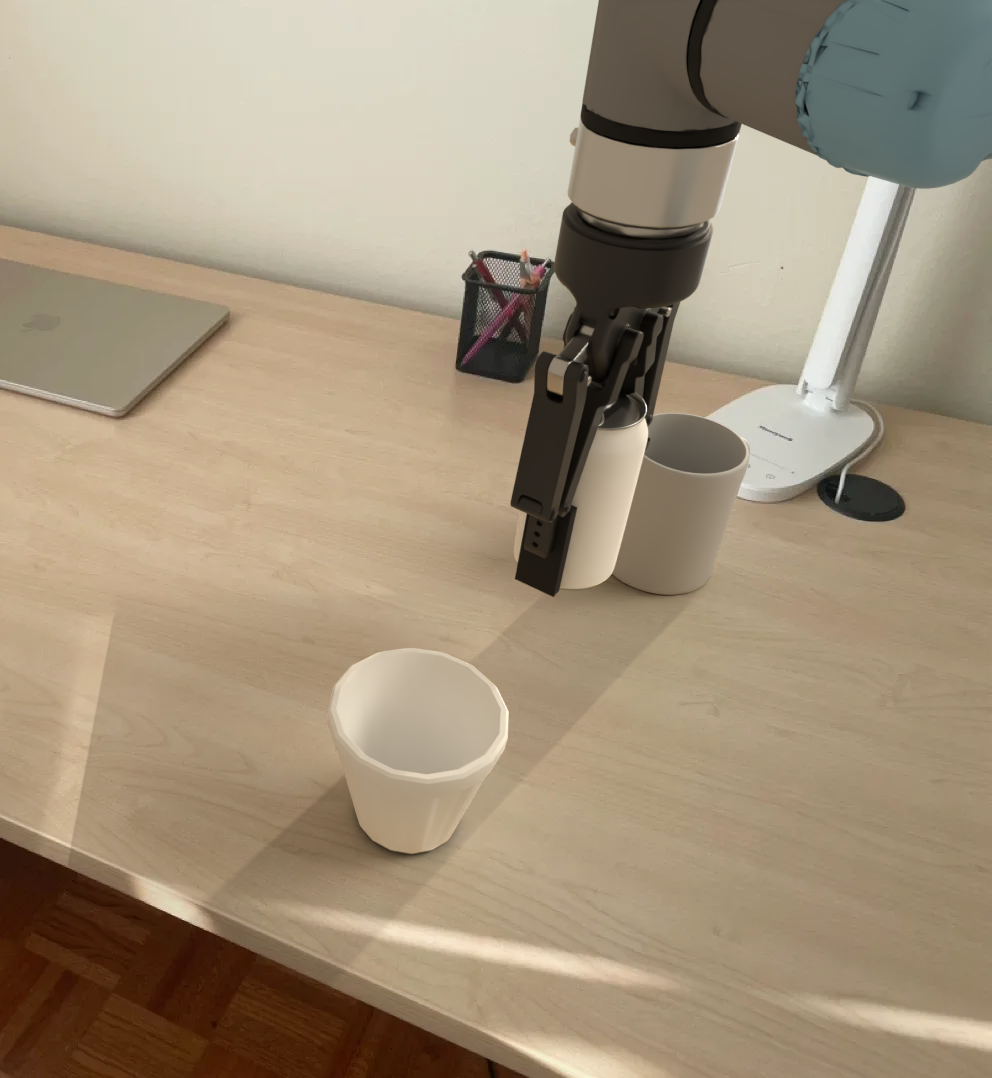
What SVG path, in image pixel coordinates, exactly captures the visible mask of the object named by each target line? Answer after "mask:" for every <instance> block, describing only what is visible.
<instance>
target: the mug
mask: <svg viewBox="0 0 992 1078" xmlns="http://www.w3.org/2000/svg"><path fill="white" fill-rule="evenodd" d="M648 437H649V438H651V439H650V443H649V445H648V448H647V449H646V451H645V452H644V456H643V460H642V464H641V468H640V472H639V476H638V480H637V484H636V488H635V492H634V495H633V499H632V503H631V507H630V511H629V515H628V519H627V522H626V526H625V530H624V534H623V538H622V541H621V545H620V549H619V553H618V556H617V560H616V564H615V567H614V570H613V572H612V574H611V576H613V577H615V578H616V579H617V580H618V581H620V582H621V583H623V584H625V585H627V586H629V587H632V588H634V589H637V590H639V591H641V592H645V593H650V594H656V595H664V596H674V595H675V596H676V595H683V594H689V593H691V592H694V591H696V590H698V589H699V588H701V587H703V586H704V585H706V583H707V582H708V581H709V579H710V578H711V576H712V574H713V572H714V569H715V566H716V563H717V558H718V556H719V553H720V549H721V546H722V542H723V540H724V538H725V537H724V536H725V533H726V531H727V528H728V524H729V521H730V519H731V515H732V512H733V510H734V507H735V503H736V500H737V497H738V494H739V491H740V488H741V485H742V483H743V481H744V477H745V475H746V472H747V469H748V466H749V461H750V456H751V446H750V444H749V442H748V440H747V439H746V438H744V437H743V436H741V435H739V434H738V433H737V432H736V431H734V430H733V429H731V428H729V427H728V426H726V425H725V424H722V423H721V422H718V421H716V420H713V419H711V418H708V417H704V416H700V415H697V414H696V415H695V414H691V413H682V412H661V413H655V414H653V420H652V422H651V424H650V425H649V426H648Z"/></svg>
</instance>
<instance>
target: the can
mask: <svg viewBox="0 0 992 1078" xmlns="http://www.w3.org/2000/svg"><path fill="white" fill-rule="evenodd" d="M590 384H592V385H595V386H598V387H601V388H605V387H603V386H602V385H601V384H600V383H596V382H593V381H591V383H590ZM646 414H647V406H646V403H645V401H644V400H643V399H642V398H641V396H639V395H638V394H637V393H636V392H635V393H632V394H630V395H624V394H622V393H620V392H619V395H618V398H617V400H616V401H615V402H614V403H613V404H609V405H607V406H606V407H605V408H604V411H603V414H602V417H601V420H600V423H599V426H598V427H597V431H596V434H595V437H594V440H593V443H592V446H591V448H590V451H589V454H588V457H587V460H586V463H585V466H584V469H583V472H582V475H581V477H580V480H579V483H578V486H577V489H576V492H575V495H574V498H573V501H572V503H571V505H573V506H575V507H577V512H576V516H575V521H574V525H573V530H572V534H571V539H570V544H569V548H568V553H567V557H566V562H565V566H564V571H563V575H562V580H561V585H560V589H559V590H561V591H570V592H571V591H584V590H587V589H592V588H593V587H596V586H597V585H600V584H602V583H604V582H605V581H606V580H608V579H609V578H610V577H611V576H612V572H613V570H614V567H615V564H616V560H617V556H618V553H619V549H620V545H621V541H622V538H623V534H624V530H625V526H626V522H627V519H628V515H629V511H630V507H631V503H632V499H633V495H634V492H635V488H636V484H637V480H638V476H639V472H640V468H641V464H642V460H643V456H644V452H645V448H646V444H647V439H648V427H647V423H646V420H645V416H646ZM526 515H527V513H525V512H522V511H520V510H519V513H518V517H517V525H516V529H515V530H516V531H515V537H514V542H513V556H514V559H515V561H516V563H517V564H518V559H519V553H520V548H521V542H522V537H523V532H524V526H525V521H526Z"/></svg>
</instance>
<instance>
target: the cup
mask: <svg viewBox="0 0 992 1078" xmlns="http://www.w3.org/2000/svg"><path fill="white" fill-rule="evenodd" d="M328 703H329V704H328V708H327V725H328V729H329V731H330V735H331V738H332V741H333V744H334V748H335V749H336V751H337V753H338V758H339V760H340V764H341V767H342V771H343V775H344V777H345V781H346V785H347V788H348V792H349V795H350V798H351V801H352V805H353V808H354V811H355V815H356V817H357V818H356V819H357V822H358V824H359V826H360V827H361V829H362V830H363V832H364V833H365V834H366V835H367V836H368V837H369V839H371V840H372V842H373V843H375V844H377V845H379V846H380V847H383V848H384V849H386V850H388V851H390V852H393V853H398V854H405V855H410V856H413V855H417V854H418V855H419V854H423V853H429V852H432V851H433V850H435V849H437V848H438V847H440V846H442V845H444V844H445V843H447V842H448V841H449V840H450V838H451V837H452V835H453V834H454V832H455V830H456V829H457V827H458V825H459V823H460V822H461V820H462V819H463V816H464V815H465V813H466V811H467V809H468V808H469V806H470V805H471V802H473V800H474V797H475V796H476V794H477V792H478V791H479V789H480V787H481V785H482V783H483V782H484V780H485V779H486V777H487V776H489V775H490V774H491V771H493V769H494V767H495V766H496V764H497V762H498V761H499V759H500V758H501V756H502V754H503V753H504V751H505V750H506V747H507V743H508V738H509V737H508V736H509V715H510V714H509V713H510V712H509V710H508V708H507V707H508V706H507V704H505V701H504V698H503V697H502V695H501V693H500V690H499V689H498V686H497V685H496V684H494V683H493V682H492V681H491V680H490V679H489V678H488V677H487V676H485V674H483V673H482V672H481V671H480V670H479V669H477V667H475V666H474V665H473V664H471V663H468V662H466V661H464V660H462V659H459V658H457V657H455V656H453V655H450V654H448V653H446V652H444V651H437V650H431V649H424V648H417V647H416V648H415V647H404V648H396V649H390V650H389V649H388V650H383V651H378V652H376V653H373V654H371V655H370V656H368V657H365V658H364V659H361V660H359V661H357V662H355V663H353V664H351V665H350V666H349V667H348V668H347V670H346V671H344V673H343V674H342V675H341V676H340V677H339V678H338V680H337V681H336V682H335V683H334V684H333V686H332V690H331V695H330V699H329V702H328Z"/></svg>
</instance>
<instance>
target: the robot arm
mask: <svg viewBox="0 0 992 1078" xmlns="http://www.w3.org/2000/svg"><path fill="white" fill-rule="evenodd" d="M593 28H594V29H593V33H592V39H591V40H592V41H591V46H590V52H589V58H588V64H587V71H586V76H585V83H584V84H585V85H584V89H583V95H582V103H581V104H582V105H581V109H580V116H579V123H578V127H574V128H573V130H572V132H571V133H570V134H569V143H570V145H571V146H573V147H574V152H573V156H572V157H573V158H572V163H571V169H570V175H569V181H568V186H567V191H566V192H567V197H568V199H569V200H570V204H568V205H567V206H566V207H565V208H564V209H563V211H562V214H561V222H560V228H559V233H558V238H557V245H556V249H555V256H554V262H553V269H554V274H555V276H556V278H557V280H558V282H560V283H561V285H563V287H565V288H566V289H567V290H568V291H569V292H570V293H571V295H572V297H573V298H574V300H575V302H576V305H575V307H574V308H573V312H571V313H570V315H569V317H568V318H567V322H566V324H565V328H564V331H563V334H562V341H563V348H562V350H561V351H560V352H559V353H558V354H556V353H552V352H550V351H546V350H542V351H541V352H540V354H539V355H538V357H537V359H536V361H535V365H534V383H533V385H534V386H533V395H532V400H531V405H530V408H529V409H530V410H529V415H528V419H527V423H526V429H525V432H524V433H525V434H524V437H523V442H522V446H521V452H520V456H519V461H518V466H517V470H516V474H515V479H514V485H513V488H512V493H511V498H510V504H509V505H510V507H512V508H513V509H516V510H518V511H519V512H520V511H522V512H525V513H527V515H526V521H525V526H524V532H523V537H522V542H521V548H520V553H519V559H518V563H517V565H516V570H515V576H514V580H515V581H518V582H520V583H521V584H524V585H526V586H529V587H530V588H533V589H535V590H537V591H540V592H542V593H544V594H546V595H548V596H549V597H552V598H554V597H556V595H557V594H558V593H559V592H560V590H561V589H560V585H561V580H562V575H563V571H564V566H565V562H566V557H567V553H568V548H569V544H570V539H571V534H572V530H573V525H574V521H575V516H576V512H577V507H575V506H573V505H571V503H572V501H573V498H574V495H575V492H576V489H577V486H578V483H579V480H580V477H581V475H582V472H583V469H584V466H585V463H586V460H587V457H588V454H589V451H590V448H591V446H592V443H593V440H594V437H595V434H596V431H597V427H598V426H599V423H600V420H601V417H602V414H603V411H604V408H605V407H606V406H607V405H609V404H613V403H614V402H615V401H616V400H617V398H618V395H619V392H620V393H622V394H624V395H630V394H632V393H635V392H636V393H637V394H638V395H639V396H641V398H642V399H643V400H644V401H645V403H646V406H647V414H646V416H645V420H646V423H647V427H648V426H649V425H650V424H651V422H652V420H653V415H654V413H655V409H656V405H657V401H658V400H657V399H658V395H659V390H660V387H661V382H662V377H663V373H664V368H665V364H666V360H667V359H666V358H667V355H668V350H669V346H670V342H671V336H672V332H673V328H674V323H675V319H676V316H677V314H678V311H679V308H680V305H681V302H683V301H685V300H686V299H688V298H690V297H691V296H692V295H693V294H694V293H695V292H696V290H698V287H699V285H700V283H701V279H702V275H703V271H704V268H705V264H706V260H707V256H708V253H709V250H710V246H711V241H712V238H713V235H714V234H713V233H714V225H713V223H712V222H711V220H712V219H714V217H715V216H717V215H718V214H719V213H720V211H721V208H722V204H723V199H724V195H725V192H726V188H727V184H728V180H729V176H730V173H731V169H732V164H733V161H734V160H733V159H734V157H735V153H736V149H737V144H738V142H739V138H740V133H741V129H742V125H744V126H746V127H747V128H751V129H753V130H755V131H758V132H760V133H762V134H765V135H767V136H770V137H772V138H775V139H777V140H778V141H781V142H783V143H786V144H789V145H791V146H793V147H795V148H798V149H800V150H802V151H805V152H808V153H810V154H812V155H815V156H816V157H818V159H819V158H820V159H822V160H824V161H826V162H827V163H828V164H829V165H830V166H832V167H834V168H836V169H843V170H844V171H845V172H847V173H849V174H851V175H855V176H860V177H866V178H869V177H872V178H876V179H878V180H882V181H886V182H890V183H892V184H896V185H899V186H903V187H905V188H913V189H920V190H923V189H924V190H925V189H929V190H930V189H938V188H943V187H947V186H950V185H953V184H956V183H958V182H960V181H963V180H965V179H967V178H968V177H971V175H972V174H973V173H975V171H976V170H977V169H978V167H979V166H980V164H981V163H982V162H985V161H987V160H991V159H992V0H598V2H597V9H596V15H595V21H594V27H593ZM591 381H593V382H596V383H600V384H601V385H602V386H603V387H605V388H601V387H598V386H595V385H592V384H590V383H591ZM650 439H651V438H649V437H648V439H647V444H646V448H645V451H646V449H647V448H648V445H649V443H650Z"/></svg>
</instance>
